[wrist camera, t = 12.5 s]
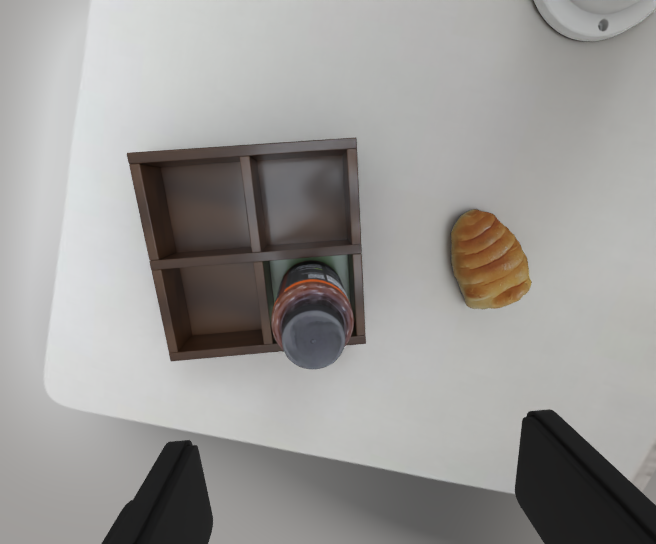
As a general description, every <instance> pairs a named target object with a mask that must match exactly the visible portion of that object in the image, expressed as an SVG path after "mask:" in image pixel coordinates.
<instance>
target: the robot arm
mask: <svg viewBox="0 0 656 544" xmlns="http://www.w3.org/2000/svg"><path fill="white" fill-rule="evenodd" d="M534 2H535V4H536V6H537V8H538V11H539V12H540V14H541V15H542V16H543V18H544V19H545V20H546V22H547V23H548V24H549V25H550V26H551V27H553V28H554V29H555V30H556V31H557V32H559V33H561V34H563V35H565V36H567V37H569V38H571V39H575V40H580V41H599V40H604V39H608V38H611V37H613V36H616V35H618V34H620V33H622V32H624V31H626V30H628V29H630V28H631V27H633V26H635V25H637V24H638V23H640V22H641V21H642V20H644V19H645V18H646V17H647V16H648V15H650V14H651V13H652V12H653V11H654V10H655V9H656V0H534ZM515 494H516V498H517V500H518V503H519V504H520V506H521V508H522V509H523V511H524V512H525V514H526V515H527V517H528V519H529V520H530V522H531V523H532V525H533V526H534V528H535V529H536V531H537V533H538V534H539V536H540V537H541V539H542V540H543V542H544V543H545V544H656V505H655V504H654V503H652V502H651V501H650V500H649V499H648V498H647V497H646V496H645V495H644V494H643V493H642V492H641V491H640V490H639V489H637V488H636V487H635V486H634V485H633V484H632V483H631V482H630V481H629V480H628V479H627V478H626V477H625V476H623V475H622V474H621V473H620V472H619V471H618V470H617V469H616V468H615V467H614V466H613V465H612V464H611V463H610V462H608V461H607V460H606V459H605V458H604V457H603V456H602V455H601V454H600V453H599V452H598V451H597V450H596V449H594V448H593V447H592V446H591V445H590V444H589V443H588V442H587V441H586V440H585V439H584V438H583V437H582V436H580V435H579V434H578V433H577V432H576V431H575V430H574V429H573V428H572V427H571V426H570V425H569V424H568V423H567V422H565V421H564V420H563V419H562V418H561V417H560V416H559V415H558V414H557V413H556V412H554V411H553V410H539V411H530V412H528V414H527V417H524V418H523V421H522V429H521V438H520V447H519V456H518V465H517V474H516V484H515ZM212 526H213V516H212V511H211V506H210V501H209V497H208V492H207V487H206V483H205V478H204V473H203V468H202V464H201V459H200V454H199V450H198V447H197V446H196V445H194V446H193V445H192V442H191V441H190V440H186V441H175V442H168V443H167V444H166V445H165V446H164V448H163V450H162V452H161V453H160V455H159V457H158V458H157V460H156V462H155V463H154V465H153V467H152V469H151V471H150V472H149V474H148V476H147V477H146V479H145V481H144V482H143V484H142V486H141V487H140V489H139V491H138V492H137V494H136V496H135V498H134V499H133V500H131V501H130V502H129V503H127V504H126V505H125V507H124V508H123V509H122V511H121V512H120V514H119V516H118V517H117V519H116V521H115V522H114V524H113V526H112V527H111V529H110V531H109V532H108V534H107V536H106V537H105V539H104V541H103V542H102V544H208V542H209V539H210V535H211V532H212Z"/></svg>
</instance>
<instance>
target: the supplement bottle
mask: <svg viewBox="0 0 656 544" xmlns="http://www.w3.org/2000/svg"><path fill="white" fill-rule="evenodd" d="M353 325H354V317H353V311H352V308H351V305H350V302H349V300H348V297H347V295H346V292H345V290H344V287H343V285H342V282H341V280H340V278H339V276H338V275H337V273H336V272H335V271H334V270H333V269H332V268H331V267H330V266H329V265H327V264H325V263H322V262H320V261H312V260H309V261H303V262H300V263H298V264H296V265H294V266H293V267H291V268H290V269H289V270H288V271H287V272H286V274H285V275H284V277H283V279H282V281H281V284H280V287H279V291H278V294H277V297H276V301H275V304H274V307H273V311H272V316H271V327H272V332H273V335H274V338H275V340H276V342H277V343H278V345H279V346H280V347H281V348H282V349H283V350H284V352H285V354H286V356H287V357H288V358H289V359H290V360H291V361H292V362H293V363H294V364H296V365H298V366H299V367H302V368H306V369H320V368H324V367H326V366H328V365H330V364H332V363H333V362H335V361H336V360H337V359H338V357H339V356H340V355H341V353H342V351H343V349H344V347H345V346H346V344H347V343H348V341H349V339H350V337H351V335H352V332H353Z"/></svg>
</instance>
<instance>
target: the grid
mask: <svg viewBox="0 0 656 544" xmlns="http://www.w3.org/2000/svg"><path fill="white" fill-rule="evenodd" d="M356 148H357V141H356V138H343V139H328V140H313V141H298V142H283V143H268V144H253V145H238V146H223V147H208V148H193V149H178V150H163V151H148V152H133V153H127V157H128V162H129V164H130V165H129V166H130V170H131V175H132V180H133V185H134V189H135V194H136V199H137V203H138V208H139V213H140V218H141V222H142V227H143V232H144V236H145V241H146V246H147V251H148V255H149V260H151V261H150V266H151V270H152V274H153V279H154V284H155V288H156V293H157V298H158V303H159V307H160V312H161V317H162V321H163V326H164V331H165V336H166V340H167V345H168V350H169V355H170V360H171V361H179V360H190V359H201V358H212V357H223V356H234V355H245V354H256V353H267V352H278V351H284V350H283V349H282V348H281V347H280V346H279V345H278V343H277V342H276V340H275V338H274V335H273V332H272V327H271V316H272V311H273V307H274V304H275V301H276V297H277V294H278V291H279V287H280V284H281V281H282V279H283V277H284V275H285V274H286V272H287V271H288V270H289V269H290V268H291V267H293V266H294V265H296V264H298V263H300V262H303V261H309V260H312V261H320V262H322V263H325V264H327V265H329V266H330V267H331V268H332V269H333V270H334V271H335V272H336V273H337V275H338V276H339V278H340V280H341V282H342V285H343V287H344V290H345V292H346V295H347V297H348V300H349V302H350V305H351V308H352V311H353V317H354V325H353V332H352V335H351V337H350V339H349V341H348V343H347V344H346V345H356V344H366V337H365V317H364V295H363V273H362V254H361V253H362V250H361V229H360V207H359V185H358V163H357V149H356Z"/></svg>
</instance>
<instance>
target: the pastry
mask: <svg viewBox="0 0 656 544" xmlns="http://www.w3.org/2000/svg"><path fill="white" fill-rule="evenodd" d="M451 238H452V240H451V243H452V249H451V254H452V259H451V265H452V266H453V272H454V276H455V278H456V279H457V281H458V284H459V287H460V290H461V292H462V294H463V295H464V299H465V303H466V305H467V306H468V307H470V308H472V309H487V308H500V307H503V306H507V305H509V304H512V303H514V302H516V301H518V300H520V299H521V297H522V296H523V295H525V294H526V293H527V292H528V291H529V289H530V286H531V283H532V282H531V280H530V278H529V268H528V261H527V257H526V256H525V254H524V252H523V251H522V248H521V245H520V244H519V242H518V241H517V240H516V238H515V236H514V234H512V233H511V232H510V231H509V229H508V228H507V227H505V226H504V225H503V224H502V223H500V221H499V220H498V219H497V218H496V216H495V215H494V214H491V213H488V212H483V211H479V210H476V209H474V210H470V211H468V212H466V213H464V214H463V215H462V216H461V217H460V218H459V219H458V220H457V222H456V223H455V225H454V227H453V230H452V232H451Z"/></svg>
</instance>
